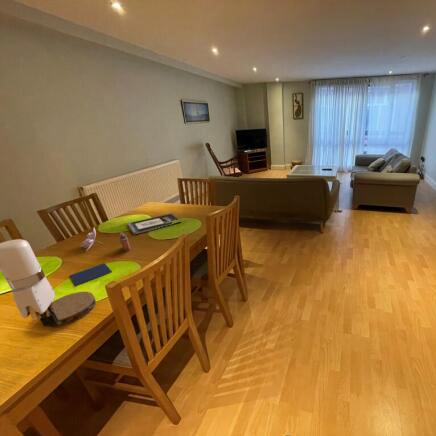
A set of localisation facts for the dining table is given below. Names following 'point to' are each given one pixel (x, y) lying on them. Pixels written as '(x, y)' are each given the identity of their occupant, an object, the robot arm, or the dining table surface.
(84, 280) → the cloth
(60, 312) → the brown round disc
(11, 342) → the dining table surface
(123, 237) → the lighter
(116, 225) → the dining table surface
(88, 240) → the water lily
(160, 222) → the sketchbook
